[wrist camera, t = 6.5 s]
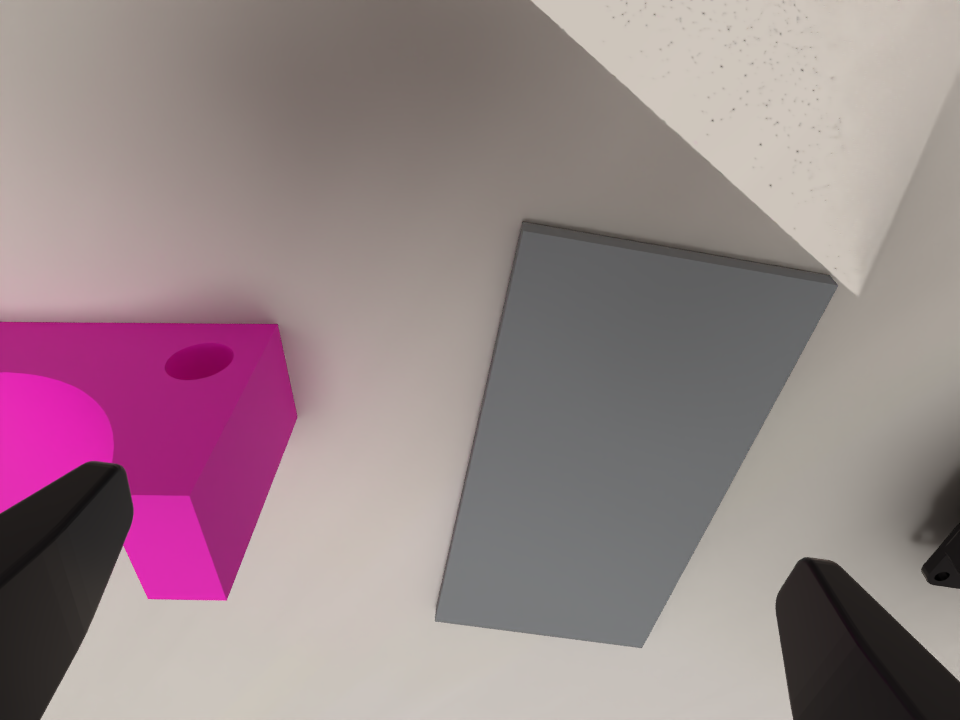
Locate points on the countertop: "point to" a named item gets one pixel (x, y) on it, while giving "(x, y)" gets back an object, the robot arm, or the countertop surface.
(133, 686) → the countertop surface
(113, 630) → the countertop surface
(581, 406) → the mat
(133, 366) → the magenta arched bracket
